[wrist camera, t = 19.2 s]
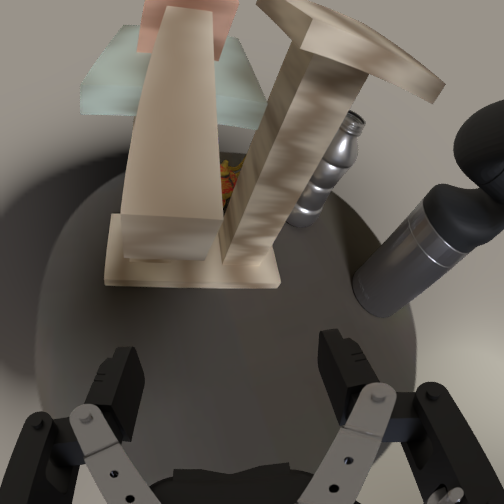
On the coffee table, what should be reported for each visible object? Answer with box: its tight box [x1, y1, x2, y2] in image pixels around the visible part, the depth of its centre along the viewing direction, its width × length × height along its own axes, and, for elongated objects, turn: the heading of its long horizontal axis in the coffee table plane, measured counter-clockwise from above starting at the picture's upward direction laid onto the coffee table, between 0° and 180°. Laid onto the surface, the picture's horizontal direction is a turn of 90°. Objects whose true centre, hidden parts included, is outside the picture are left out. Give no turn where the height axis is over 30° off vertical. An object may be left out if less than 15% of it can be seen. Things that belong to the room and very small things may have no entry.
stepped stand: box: [80, 0, 446, 288], centre depth 29 cm, size 22×14×32 cm, turn 100°
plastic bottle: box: [286, 110, 366, 228], centre depth 43 cm, size 6×7×20 cm
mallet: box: [120, 0, 239, 261], centre depth 15 cm, size 6×22×5 cm, turn 10°
